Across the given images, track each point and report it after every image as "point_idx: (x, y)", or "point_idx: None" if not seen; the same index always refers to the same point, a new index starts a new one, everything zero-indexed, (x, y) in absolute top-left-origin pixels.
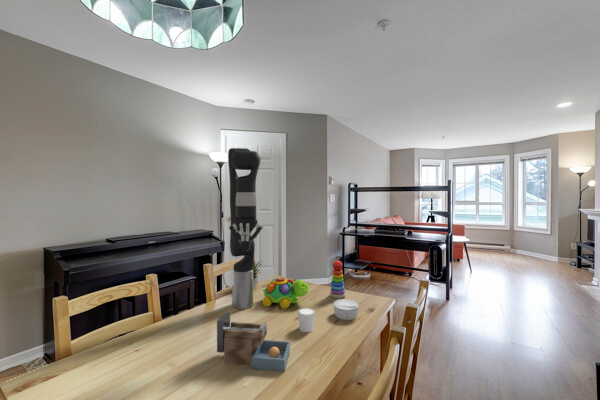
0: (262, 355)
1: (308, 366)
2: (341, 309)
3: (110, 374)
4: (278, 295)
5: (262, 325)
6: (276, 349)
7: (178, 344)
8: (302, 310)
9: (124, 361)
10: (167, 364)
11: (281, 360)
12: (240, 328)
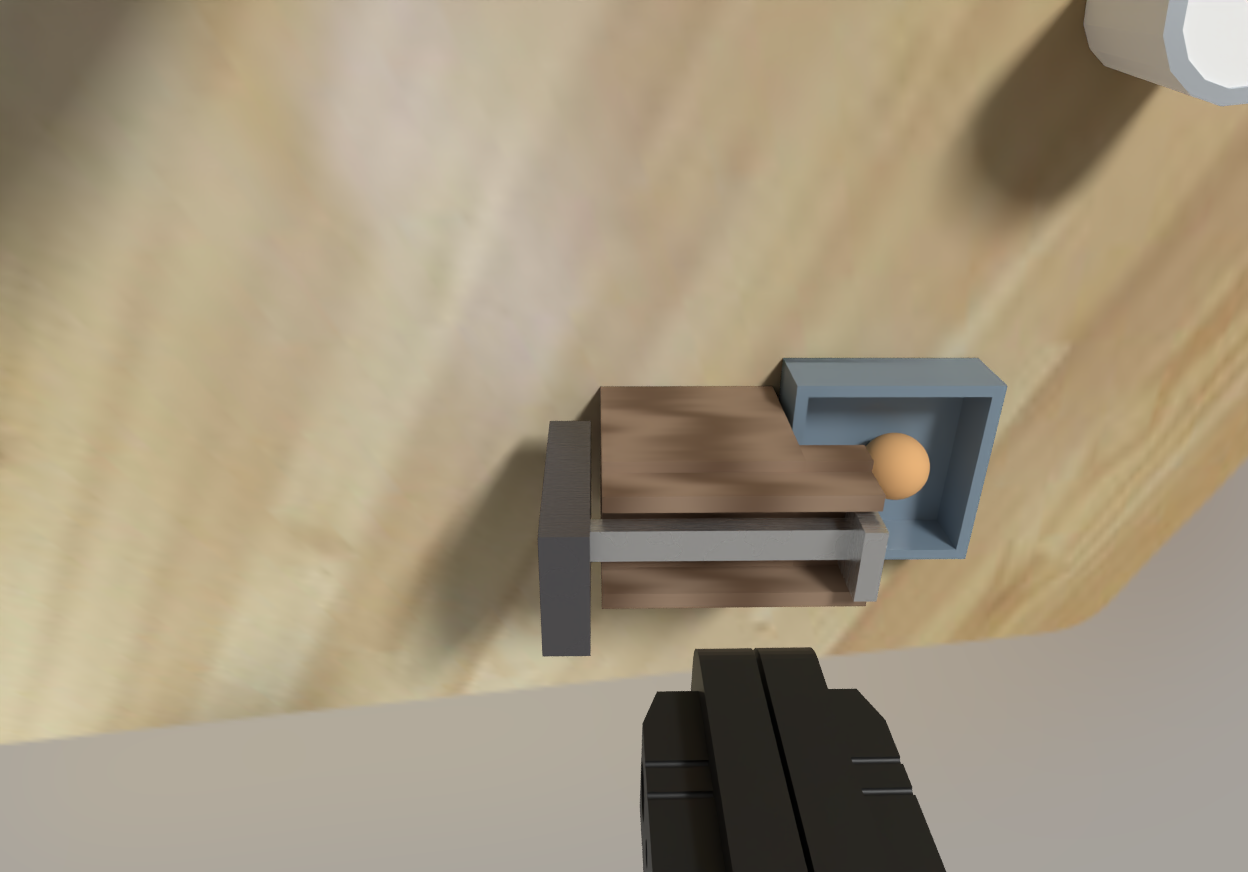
0: (811, 435)
1: (1073, 471)
2: None
3: (80, 634)
4: None
5: (870, 572)
6: (918, 489)
7: (200, 364)
8: None
9: (37, 549)
10: (296, 543)
11: (946, 555)
12: (693, 541)
